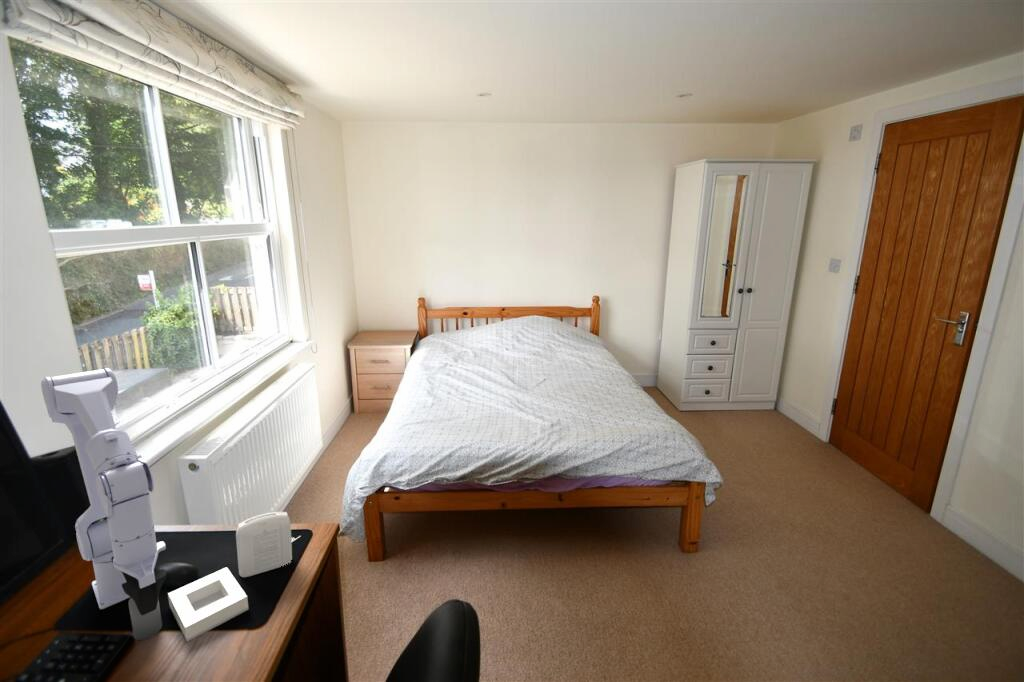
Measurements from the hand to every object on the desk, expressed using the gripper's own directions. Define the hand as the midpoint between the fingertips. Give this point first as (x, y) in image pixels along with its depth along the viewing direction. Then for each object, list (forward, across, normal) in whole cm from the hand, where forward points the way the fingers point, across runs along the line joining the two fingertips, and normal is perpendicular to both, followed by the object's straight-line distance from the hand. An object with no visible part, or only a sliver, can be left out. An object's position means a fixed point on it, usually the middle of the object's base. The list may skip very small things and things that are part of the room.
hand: (143, 599), depth 81 cm
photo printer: (+7, +2, -21) cm, 22 cm away
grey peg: (+7, 0, 0) cm, 7 cm away
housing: (+7, -2, -9) cm, 11 cm away
